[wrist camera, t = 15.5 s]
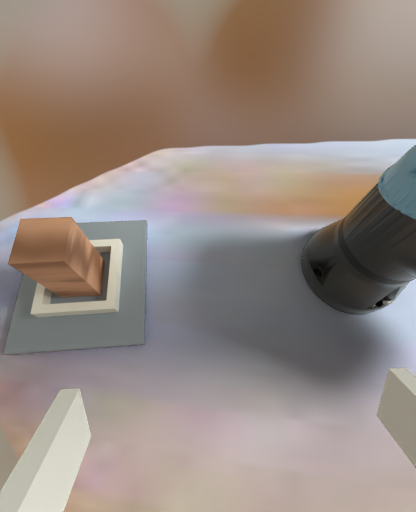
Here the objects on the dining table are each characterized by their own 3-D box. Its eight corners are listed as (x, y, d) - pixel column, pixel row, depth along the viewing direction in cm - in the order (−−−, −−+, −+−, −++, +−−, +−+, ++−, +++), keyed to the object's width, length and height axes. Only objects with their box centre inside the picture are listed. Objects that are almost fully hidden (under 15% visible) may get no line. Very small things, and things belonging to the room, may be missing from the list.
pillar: (67, 263, 40) (20, 218, 29) (104, 261, 40) (71, 217, 29) (61, 297, 37) (8, 263, 26) (101, 295, 38) (63, 260, 27)
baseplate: (38, 228, 43) (27, 217, 40) (147, 224, 45) (144, 213, 42) (9, 355, 35) (-8, 352, 32) (144, 344, 36) (140, 341, 33)
